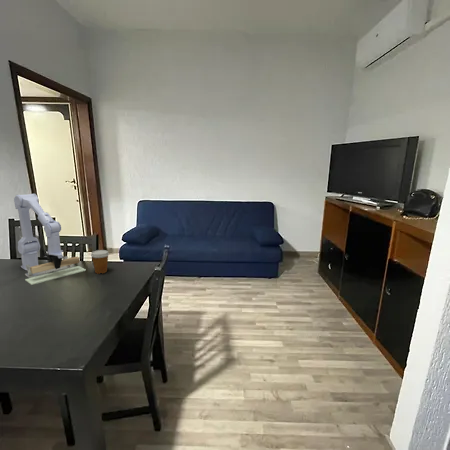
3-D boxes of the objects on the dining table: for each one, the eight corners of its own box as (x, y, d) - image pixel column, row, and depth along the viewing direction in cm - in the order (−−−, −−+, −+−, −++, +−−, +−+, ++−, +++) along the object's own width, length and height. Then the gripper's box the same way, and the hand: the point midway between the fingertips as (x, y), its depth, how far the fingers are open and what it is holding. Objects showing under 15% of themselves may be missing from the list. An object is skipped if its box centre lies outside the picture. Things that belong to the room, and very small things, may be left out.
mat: (25, 280, 151) (25, 279, 151) (78, 266, 173) (78, 266, 173) (31, 285, 146) (31, 284, 146) (85, 270, 167) (85, 269, 167)
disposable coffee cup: (105, 275, 162) (104, 255, 159) (89, 274, 162) (87, 254, 159) (112, 269, 171) (111, 250, 168) (96, 268, 171) (95, 249, 169)
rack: (25, 274, 158) (23, 265, 157) (68, 264, 176) (67, 255, 175) (29, 278, 154) (28, 268, 153) (73, 267, 172) (72, 258, 171)
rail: (30, 272, 150) (30, 266, 149) (77, 261, 168) (76, 256, 168) (32, 273, 148) (32, 268, 148) (79, 262, 167) (79, 257, 166)
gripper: (67, 245, 154) (69, 268, 157) (56, 240, 163) (58, 262, 166) (53, 247, 149) (56, 272, 152) (42, 242, 158) (45, 265, 160)
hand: (56, 267), depth 158 cm, fingers closed on rail, 3 cm apart
